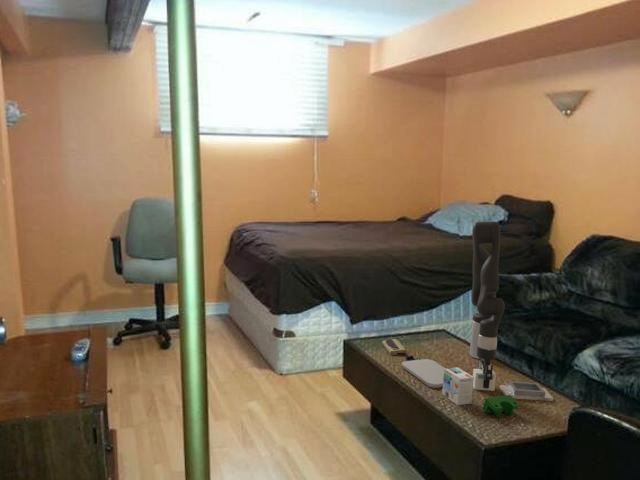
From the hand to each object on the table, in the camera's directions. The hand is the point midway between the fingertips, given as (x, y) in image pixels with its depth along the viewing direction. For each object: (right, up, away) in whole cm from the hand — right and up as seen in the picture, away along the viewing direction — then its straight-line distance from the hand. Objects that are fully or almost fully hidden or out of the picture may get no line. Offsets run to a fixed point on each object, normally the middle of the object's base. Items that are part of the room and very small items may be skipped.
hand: (483, 383), depth 227 cm
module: (0, -2, 0) cm, 2 cm away
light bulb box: (-14, -3, -12) cm, 19 cm away
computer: (-31, +5, +42) cm, 52 cm away
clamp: (-1, -5, -23) cm, 24 cm away
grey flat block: (+16, -3, -5) cm, 17 cm away
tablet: (-20, 0, +11) cm, 23 cm away
